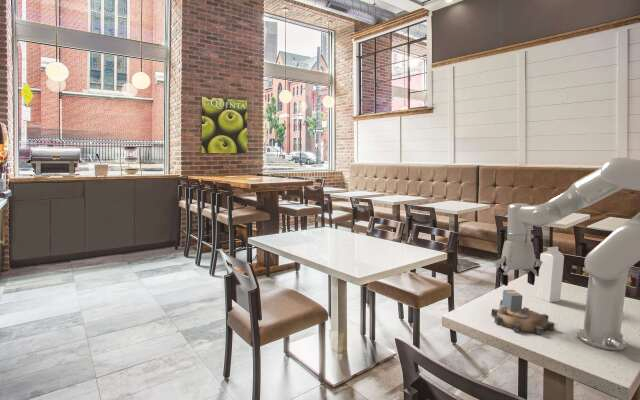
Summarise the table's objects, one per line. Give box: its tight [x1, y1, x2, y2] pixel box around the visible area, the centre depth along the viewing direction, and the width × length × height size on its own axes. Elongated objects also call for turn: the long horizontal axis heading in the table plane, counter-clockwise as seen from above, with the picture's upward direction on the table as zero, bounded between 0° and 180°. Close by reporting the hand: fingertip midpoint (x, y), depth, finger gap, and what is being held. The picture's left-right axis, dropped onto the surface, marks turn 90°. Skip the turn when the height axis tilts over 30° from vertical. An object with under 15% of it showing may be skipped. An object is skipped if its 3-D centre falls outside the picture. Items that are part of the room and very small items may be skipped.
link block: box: [501, 289, 523, 312], centre depth 144 cm, size 6×4×6 cm, turn 3°
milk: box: [536, 246, 565, 303], centre depth 159 cm, size 6×6×22 cm
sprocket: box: [490, 304, 555, 335], centre depth 137 cm, size 20×20×4 cm
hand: (517, 284), depth 141 cm, fingers open, 9 cm apart
